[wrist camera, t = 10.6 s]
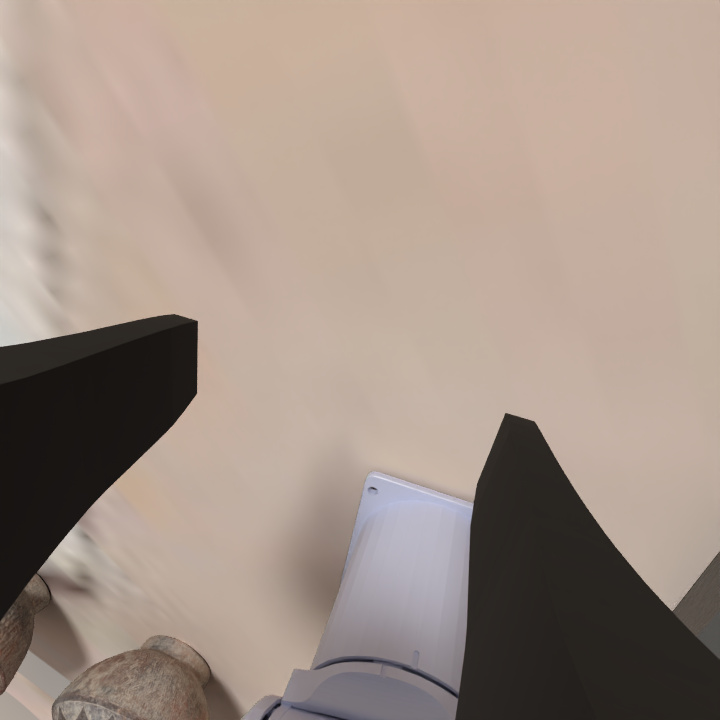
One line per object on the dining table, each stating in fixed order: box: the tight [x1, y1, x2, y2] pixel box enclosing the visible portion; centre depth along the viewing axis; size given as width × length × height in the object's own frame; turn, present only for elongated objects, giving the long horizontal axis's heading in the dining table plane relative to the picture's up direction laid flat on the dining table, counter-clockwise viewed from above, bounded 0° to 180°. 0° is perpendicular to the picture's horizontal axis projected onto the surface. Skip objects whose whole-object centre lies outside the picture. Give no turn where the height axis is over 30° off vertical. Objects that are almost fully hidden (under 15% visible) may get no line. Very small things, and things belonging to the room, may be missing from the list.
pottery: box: [0, 574, 210, 720], centre depth 34 cm, size 11×25×12 cm, turn 72°
